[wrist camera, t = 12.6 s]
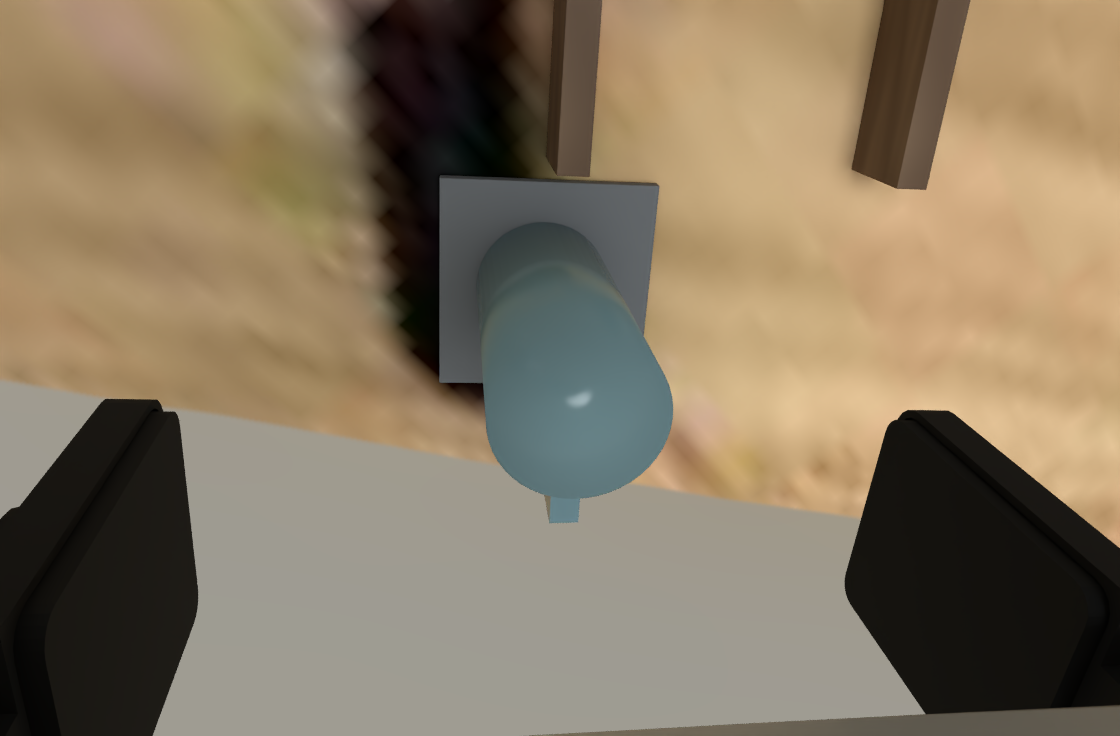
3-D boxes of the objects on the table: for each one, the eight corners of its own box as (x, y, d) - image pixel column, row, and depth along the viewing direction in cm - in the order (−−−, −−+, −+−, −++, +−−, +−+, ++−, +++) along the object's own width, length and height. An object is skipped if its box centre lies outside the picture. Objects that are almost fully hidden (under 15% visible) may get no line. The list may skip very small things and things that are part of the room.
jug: (476, 220, 34) (487, 331, 23) (611, 223, 35) (682, 332, 24) (475, 393, 37) (484, 561, 26) (598, 393, 38) (656, 556, 27)
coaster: (439, 376, 37) (439, 382, 37) (439, 175, 34) (439, 178, 33) (635, 378, 38) (638, 383, 38) (656, 183, 35) (659, 186, 34)
